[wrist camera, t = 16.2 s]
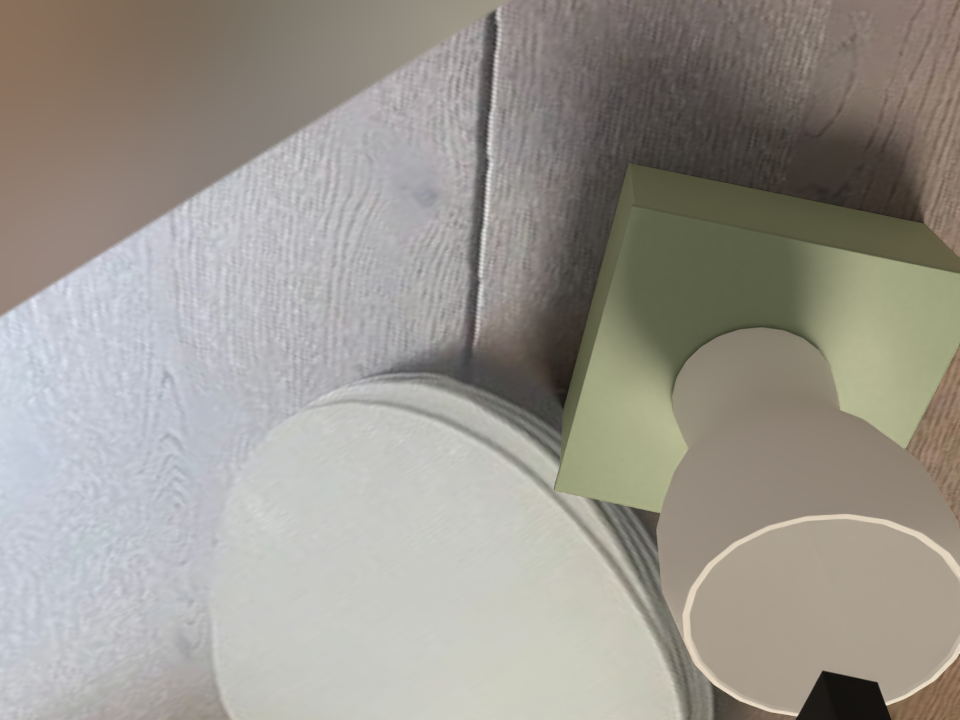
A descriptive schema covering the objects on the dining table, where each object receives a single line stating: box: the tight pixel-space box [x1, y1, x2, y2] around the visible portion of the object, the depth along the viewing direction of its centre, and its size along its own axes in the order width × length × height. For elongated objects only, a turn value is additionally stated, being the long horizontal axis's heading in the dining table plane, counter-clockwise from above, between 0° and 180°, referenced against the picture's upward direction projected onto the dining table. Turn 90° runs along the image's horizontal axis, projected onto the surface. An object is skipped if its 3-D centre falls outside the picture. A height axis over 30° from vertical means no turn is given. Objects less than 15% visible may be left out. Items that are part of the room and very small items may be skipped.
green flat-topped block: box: [554, 163, 960, 513], centre depth 45 cm, size 16×16×8 cm
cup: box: [657, 327, 960, 716], centre depth 35 cm, size 11×11×15 cm
